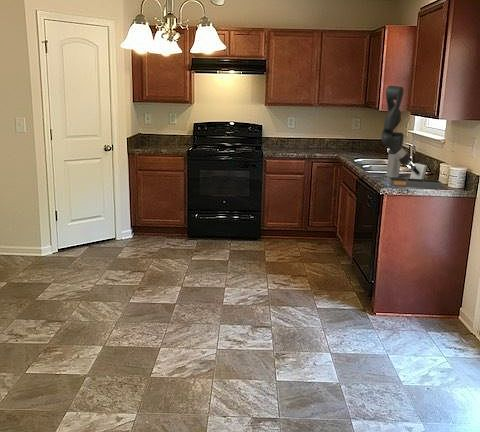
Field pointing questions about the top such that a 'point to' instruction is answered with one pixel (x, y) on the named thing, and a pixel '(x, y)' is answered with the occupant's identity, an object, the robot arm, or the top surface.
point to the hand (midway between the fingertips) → (417, 172)
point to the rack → (415, 183)
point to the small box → (421, 170)
